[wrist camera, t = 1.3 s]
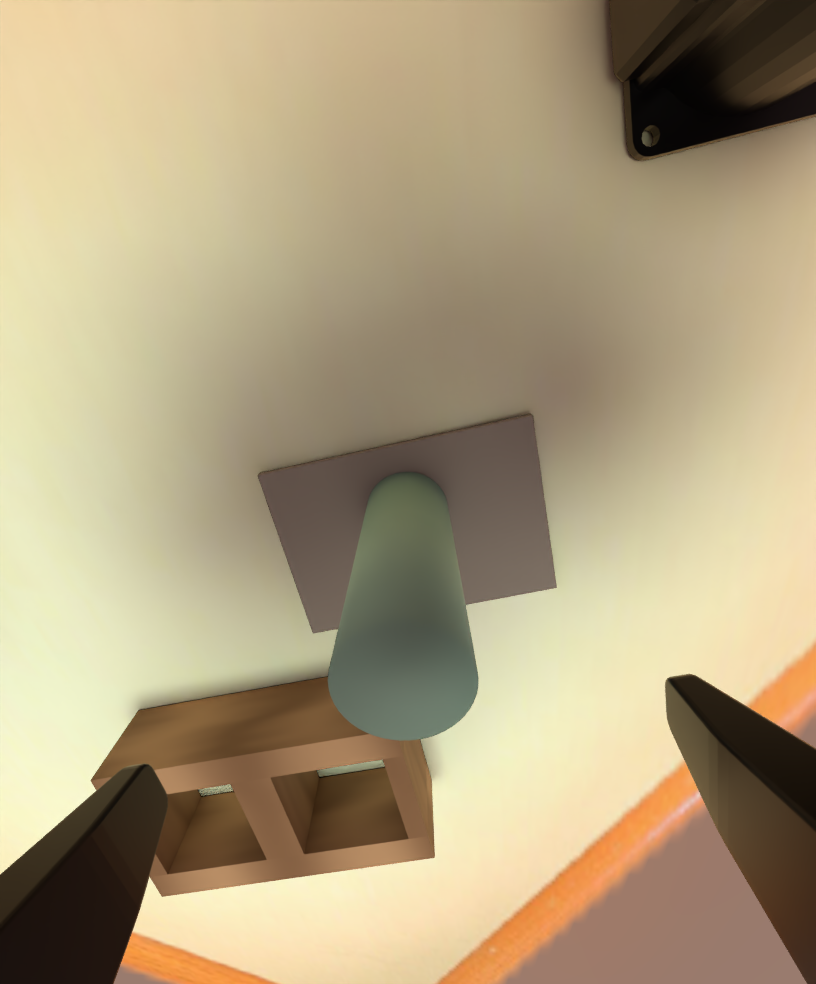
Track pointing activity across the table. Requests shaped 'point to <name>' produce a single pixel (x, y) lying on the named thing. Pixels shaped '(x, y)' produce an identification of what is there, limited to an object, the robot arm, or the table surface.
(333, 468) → the mat
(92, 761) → the table surface
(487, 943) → the table surface
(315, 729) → the block
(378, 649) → the peg
